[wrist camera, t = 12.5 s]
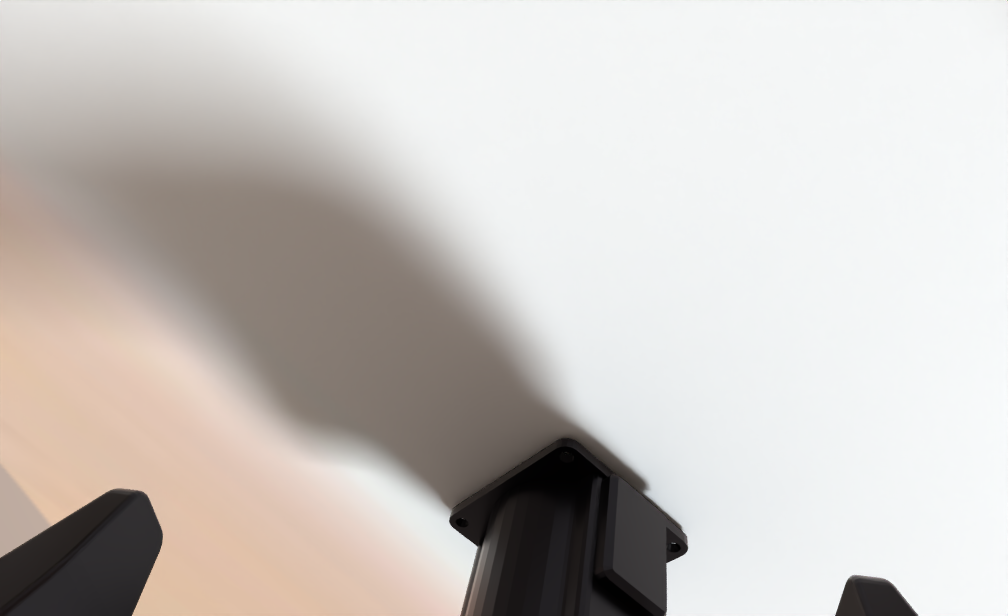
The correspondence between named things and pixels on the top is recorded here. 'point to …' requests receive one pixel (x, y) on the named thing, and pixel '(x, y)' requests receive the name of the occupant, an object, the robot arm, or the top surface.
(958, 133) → the top surface
